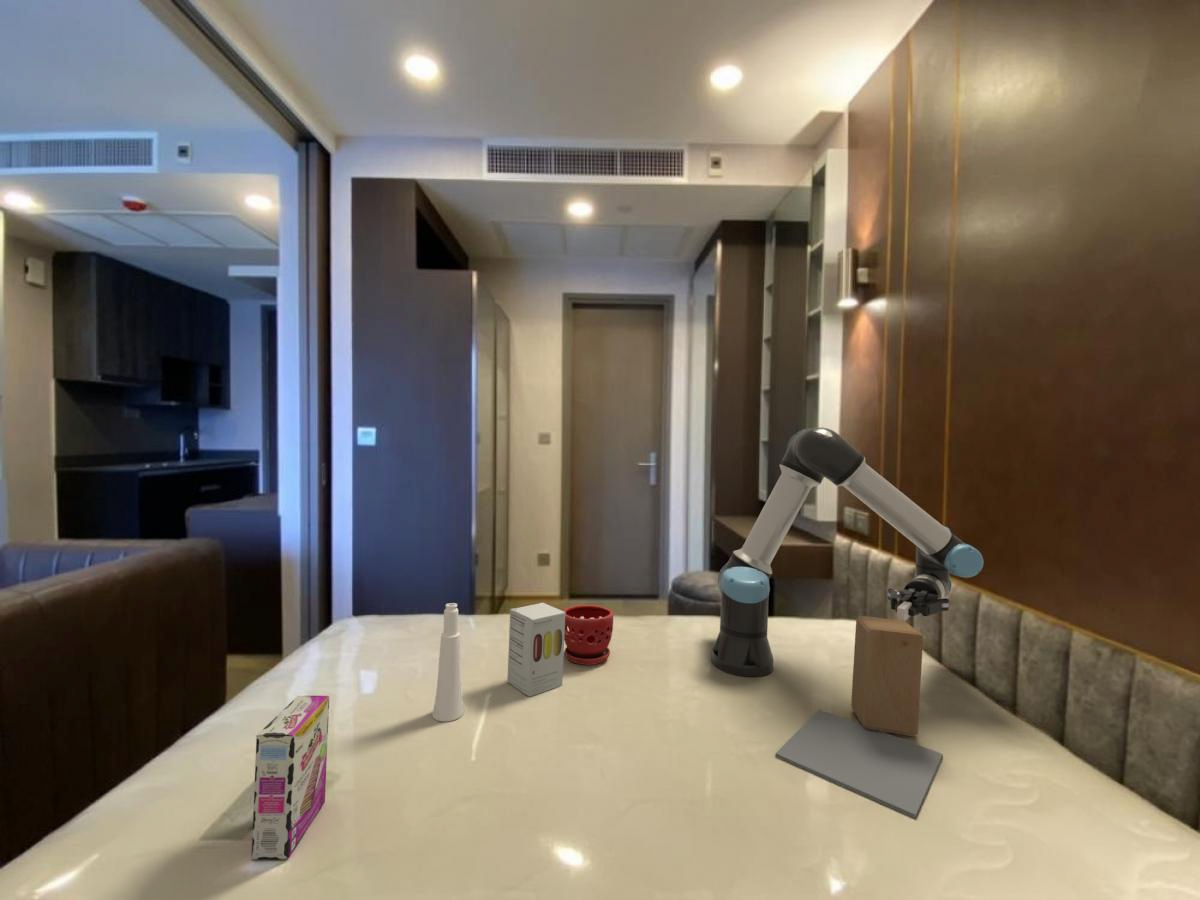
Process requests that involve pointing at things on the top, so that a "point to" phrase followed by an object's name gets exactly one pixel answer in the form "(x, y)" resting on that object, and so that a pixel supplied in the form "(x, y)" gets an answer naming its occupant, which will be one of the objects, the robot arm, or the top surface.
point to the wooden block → (887, 675)
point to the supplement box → (536, 648)
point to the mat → (864, 761)
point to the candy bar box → (289, 777)
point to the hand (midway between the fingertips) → (900, 614)
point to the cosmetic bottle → (449, 670)
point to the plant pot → (588, 634)
